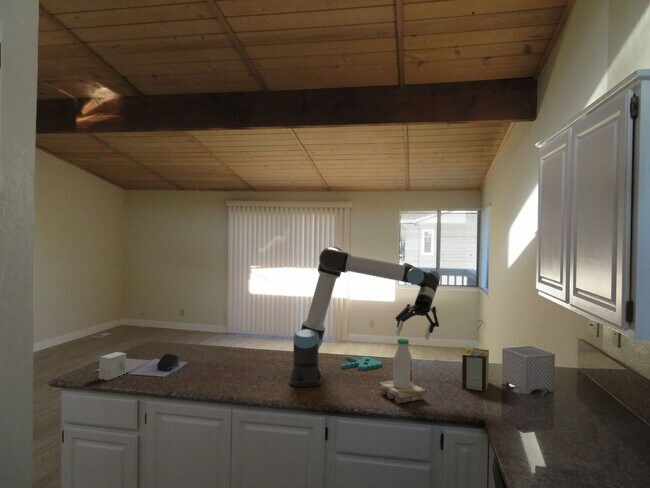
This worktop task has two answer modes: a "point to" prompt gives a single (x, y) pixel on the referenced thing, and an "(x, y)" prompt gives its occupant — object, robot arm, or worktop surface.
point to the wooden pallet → (402, 392)
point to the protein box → (475, 369)
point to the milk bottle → (402, 366)
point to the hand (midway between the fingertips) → (411, 335)
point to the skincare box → (112, 365)
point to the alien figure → (362, 363)
